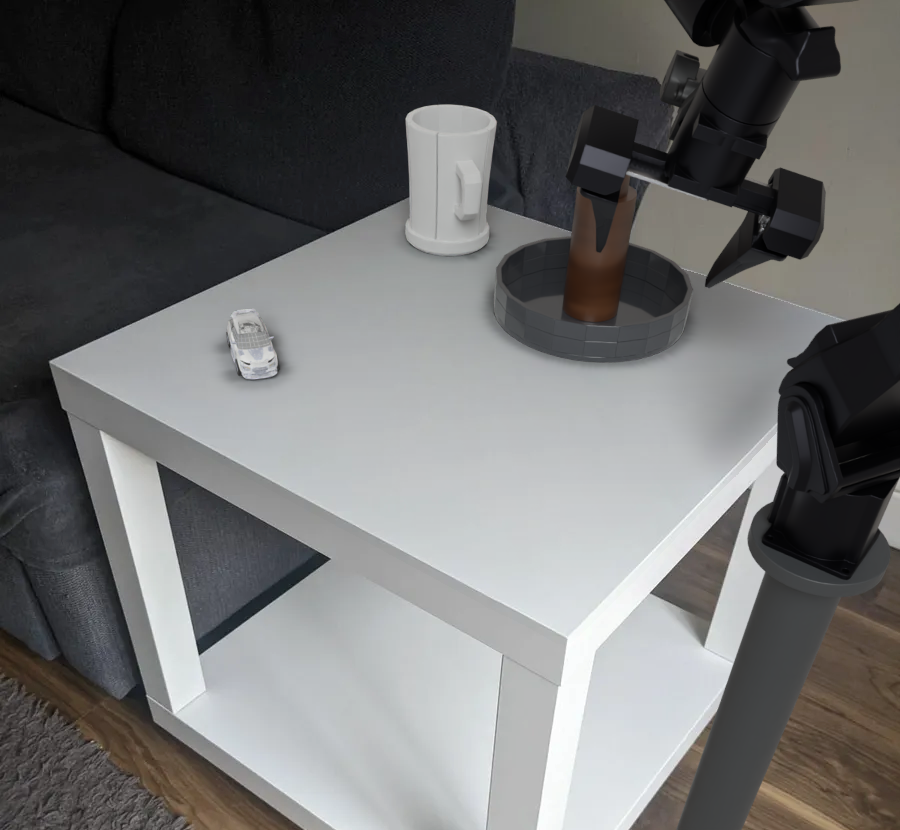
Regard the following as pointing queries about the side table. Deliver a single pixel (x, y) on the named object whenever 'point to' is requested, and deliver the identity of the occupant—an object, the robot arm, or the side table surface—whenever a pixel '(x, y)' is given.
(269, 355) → the toy car
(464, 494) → the side table surface
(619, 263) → the pepper mill
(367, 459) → the side table surface
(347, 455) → the side table surface
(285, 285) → the side table surface
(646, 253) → the pan
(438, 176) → the cup
